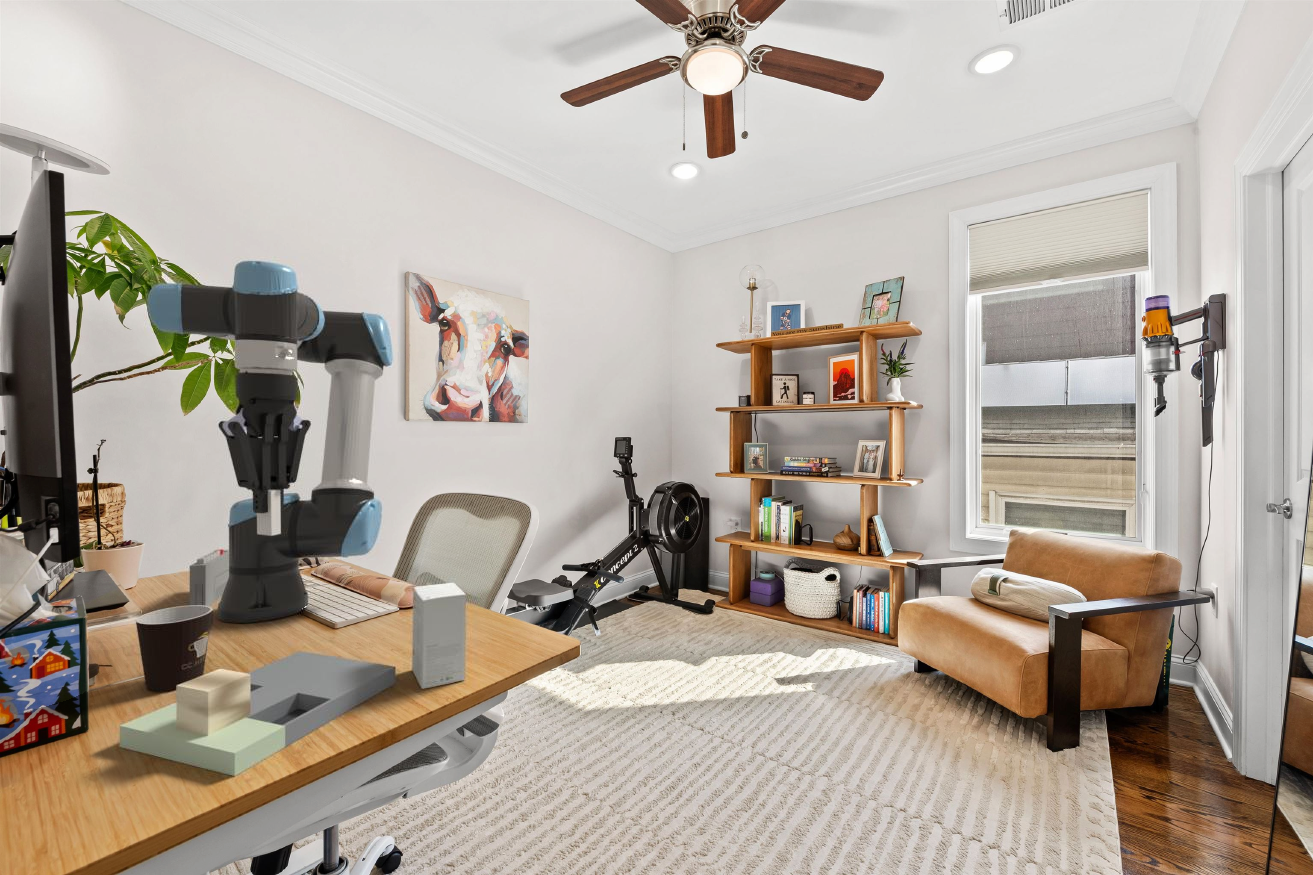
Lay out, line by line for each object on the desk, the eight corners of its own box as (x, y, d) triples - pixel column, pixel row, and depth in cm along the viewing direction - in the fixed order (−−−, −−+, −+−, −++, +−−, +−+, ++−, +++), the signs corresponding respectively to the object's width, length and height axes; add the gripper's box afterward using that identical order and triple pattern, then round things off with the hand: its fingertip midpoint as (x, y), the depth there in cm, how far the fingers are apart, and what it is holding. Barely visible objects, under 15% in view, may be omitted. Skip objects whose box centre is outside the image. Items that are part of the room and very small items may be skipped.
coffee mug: (160, 700, 79) (160, 627, 79) (121, 689, 82) (121, 619, 82) (246, 668, 90) (246, 603, 90) (208, 659, 93) (209, 597, 93)
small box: (466, 680, 87) (467, 593, 87) (421, 690, 84) (421, 600, 83) (453, 661, 94) (454, 581, 94) (411, 669, 91) (412, 586, 90)
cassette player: (221, 589, 133) (221, 545, 132) (235, 588, 133) (235, 544, 133) (189, 610, 118) (189, 560, 117) (205, 609, 118) (205, 560, 118)
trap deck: (300, 666, 91) (300, 651, 91) (395, 683, 86) (395, 666, 86) (119, 746, 68) (119, 725, 68) (234, 776, 63) (234, 753, 63)
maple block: (219, 708, 72) (219, 668, 72) (250, 714, 71) (250, 674, 71) (176, 728, 68) (176, 685, 67) (208, 735, 66) (208, 691, 66)
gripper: (243, 369, 77) (246, 546, 78) (325, 375, 90) (325, 527, 91) (201, 369, 79) (204, 541, 80) (286, 374, 92) (288, 523, 93)
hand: (269, 533), depth 86 cm, fingers closed
